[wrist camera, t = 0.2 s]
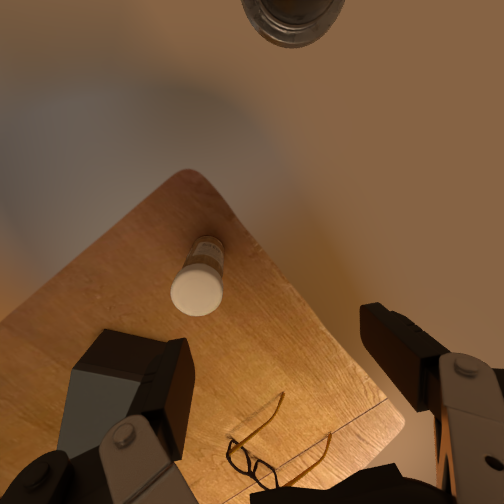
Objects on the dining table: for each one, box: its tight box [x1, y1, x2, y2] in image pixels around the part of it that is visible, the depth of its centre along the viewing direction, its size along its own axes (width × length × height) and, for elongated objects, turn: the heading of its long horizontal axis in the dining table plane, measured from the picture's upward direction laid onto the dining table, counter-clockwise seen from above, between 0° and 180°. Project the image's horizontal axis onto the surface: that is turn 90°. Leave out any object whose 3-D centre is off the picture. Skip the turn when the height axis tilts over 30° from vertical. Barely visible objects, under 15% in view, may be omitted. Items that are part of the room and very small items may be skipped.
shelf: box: [57, 329, 167, 459], centre depth 35 cm, size 26×10×11 cm, turn 161°
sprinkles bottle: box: [171, 236, 224, 316], centre depth 28 cm, size 5×5×14 cm
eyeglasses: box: [226, 393, 332, 490], centre depth 44 cm, size 14×14×4 cm
